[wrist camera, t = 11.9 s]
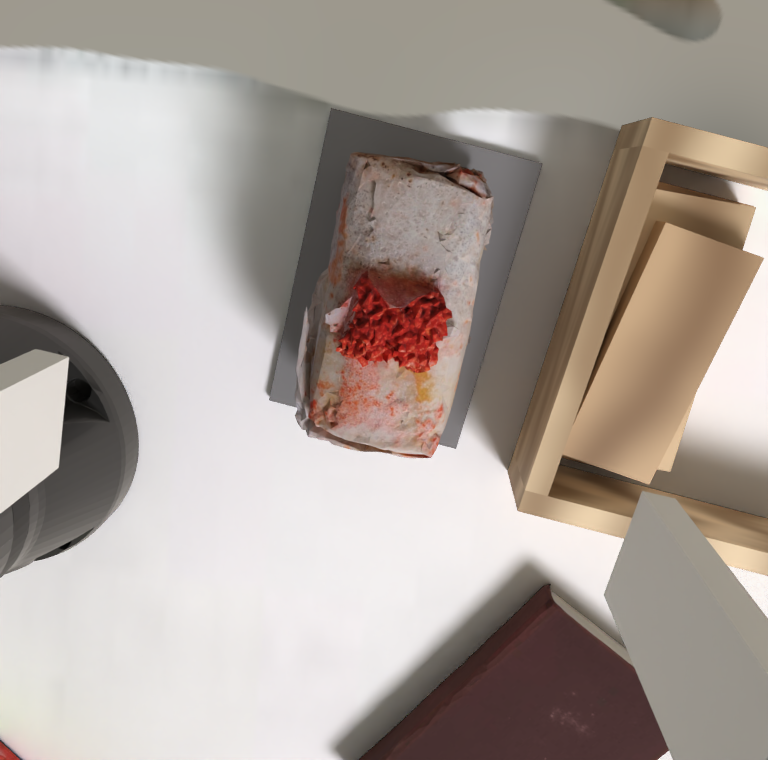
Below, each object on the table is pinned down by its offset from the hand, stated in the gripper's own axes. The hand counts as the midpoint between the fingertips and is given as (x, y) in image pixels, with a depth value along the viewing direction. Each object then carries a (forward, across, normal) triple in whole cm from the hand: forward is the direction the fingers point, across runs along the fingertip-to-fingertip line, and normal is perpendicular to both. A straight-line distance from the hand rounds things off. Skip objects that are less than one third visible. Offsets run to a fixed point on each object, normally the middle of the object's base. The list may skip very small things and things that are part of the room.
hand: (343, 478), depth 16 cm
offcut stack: (+23, -13, -1) cm, 27 cm away
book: (+24, -14, +26) cm, 38 cm away
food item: (+23, 0, -1) cm, 23 cm away
